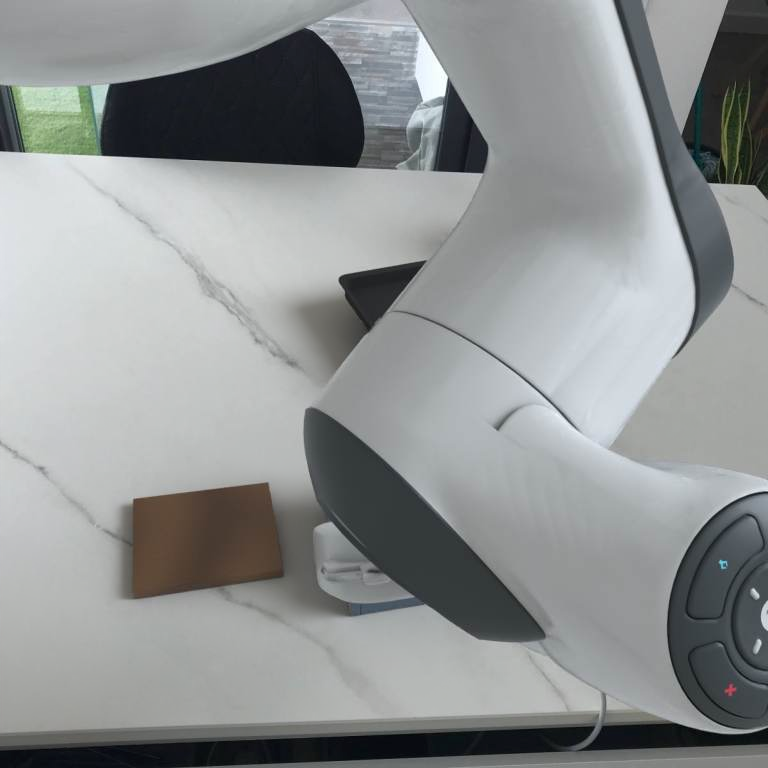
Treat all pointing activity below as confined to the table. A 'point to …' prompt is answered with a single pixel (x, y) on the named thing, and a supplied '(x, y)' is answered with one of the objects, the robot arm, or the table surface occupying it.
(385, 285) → the tray
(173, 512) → the coaster
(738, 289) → the table surface
